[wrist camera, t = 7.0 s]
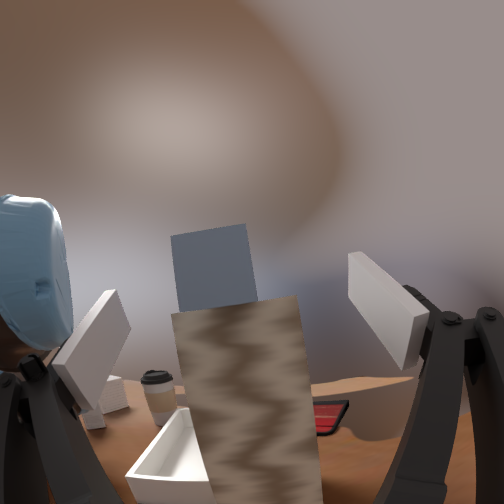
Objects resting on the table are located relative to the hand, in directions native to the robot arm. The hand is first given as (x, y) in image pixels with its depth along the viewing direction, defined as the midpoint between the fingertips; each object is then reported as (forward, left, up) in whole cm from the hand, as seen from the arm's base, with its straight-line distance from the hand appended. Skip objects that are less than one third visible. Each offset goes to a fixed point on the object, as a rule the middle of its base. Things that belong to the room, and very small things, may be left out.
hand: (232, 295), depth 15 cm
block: (-1, +12, 0) cm, 12 cm away
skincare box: (-48, +49, -31) cm, 75 cm away
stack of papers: (-62, +73, -31) cm, 101 cm away
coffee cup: (-28, +56, -31) cm, 70 cm away
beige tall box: (-1, +16, -30) cm, 35 cm away
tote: (-15, +34, -30) cm, 48 cm away
